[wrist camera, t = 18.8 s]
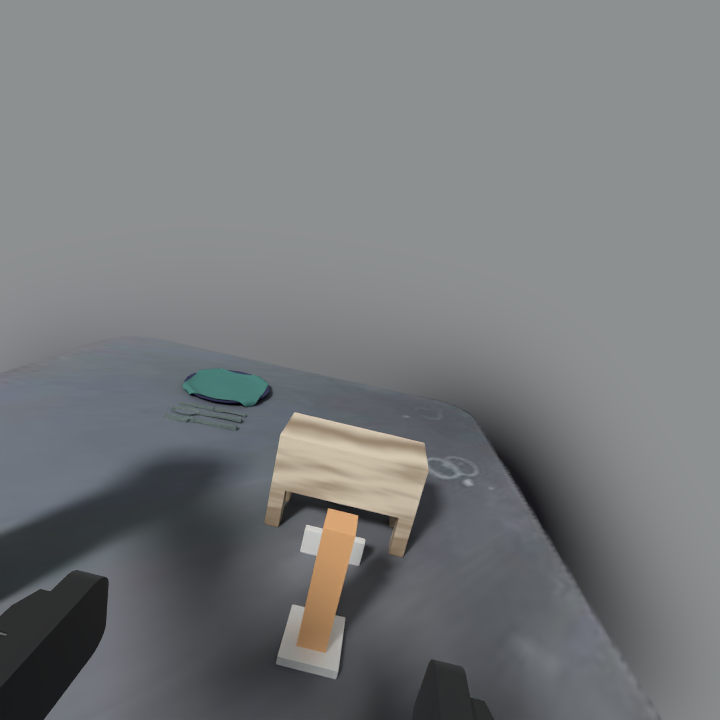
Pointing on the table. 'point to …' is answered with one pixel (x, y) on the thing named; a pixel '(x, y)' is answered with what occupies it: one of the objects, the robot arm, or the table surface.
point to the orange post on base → (322, 598)
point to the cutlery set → (221, 393)
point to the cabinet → (349, 472)
